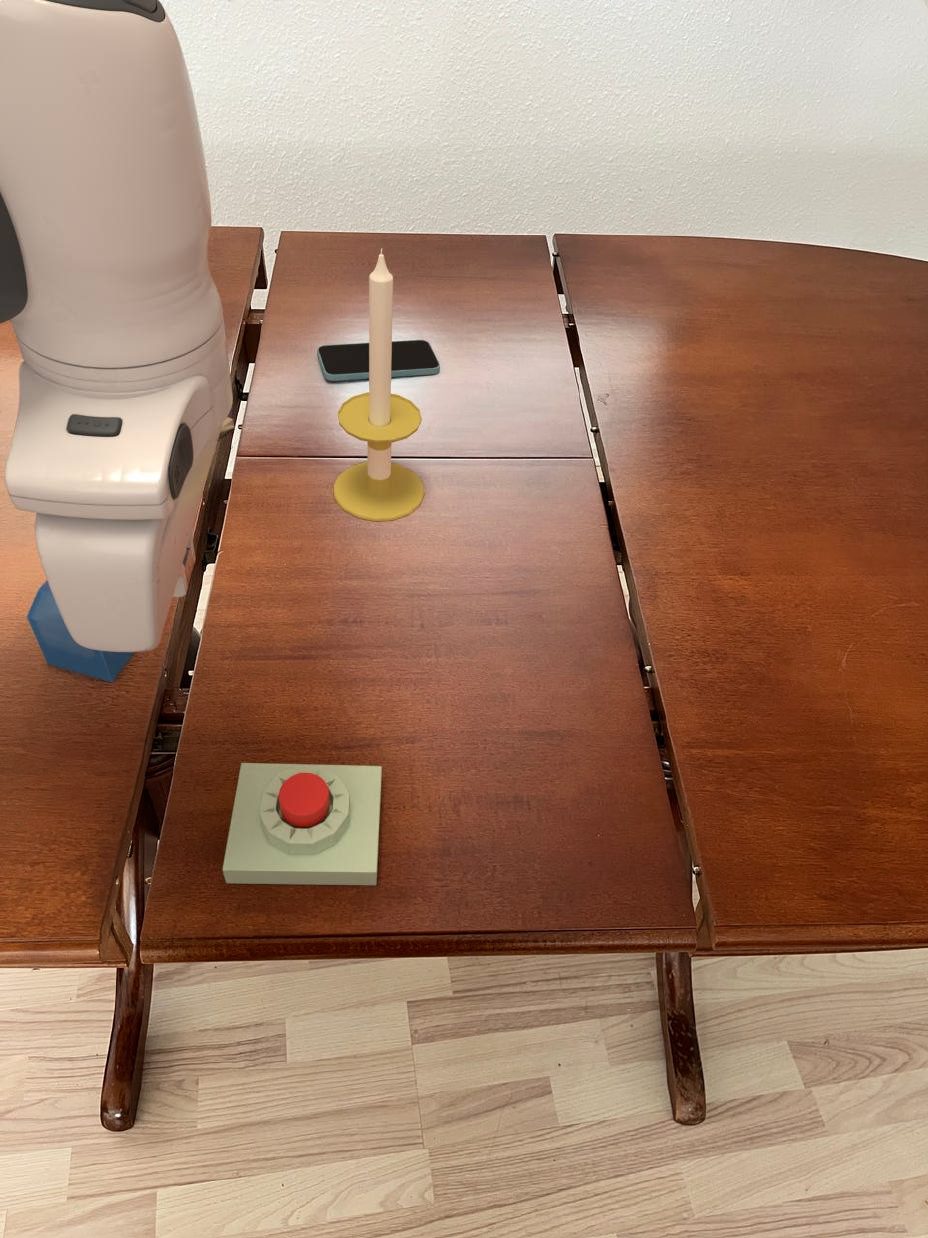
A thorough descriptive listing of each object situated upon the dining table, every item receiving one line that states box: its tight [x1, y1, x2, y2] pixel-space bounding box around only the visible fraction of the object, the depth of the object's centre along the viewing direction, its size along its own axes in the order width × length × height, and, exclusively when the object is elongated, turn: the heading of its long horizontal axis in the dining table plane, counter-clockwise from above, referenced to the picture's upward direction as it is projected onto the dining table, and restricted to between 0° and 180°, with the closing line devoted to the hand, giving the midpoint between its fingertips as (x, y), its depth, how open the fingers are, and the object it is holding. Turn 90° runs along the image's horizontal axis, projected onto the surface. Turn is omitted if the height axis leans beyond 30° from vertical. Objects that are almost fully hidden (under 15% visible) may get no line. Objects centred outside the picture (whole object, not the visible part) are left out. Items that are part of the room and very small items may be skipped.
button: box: [279, 773, 330, 827], centre depth 63 cm, size 4×4×2 cm
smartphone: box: [316, 339, 441, 382], centre depth 111 cm, size 7×1×15 cm
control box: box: [222, 762, 383, 886], centre depth 65 cm, size 11×9×4 cm
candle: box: [332, 247, 426, 522], centre depth 84 cm, size 10×10×27 cm
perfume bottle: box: [26, 579, 135, 683], centre depth 72 cm, size 6×6×12 cm
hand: (176, 579), depth 50 cm, fingers closed
